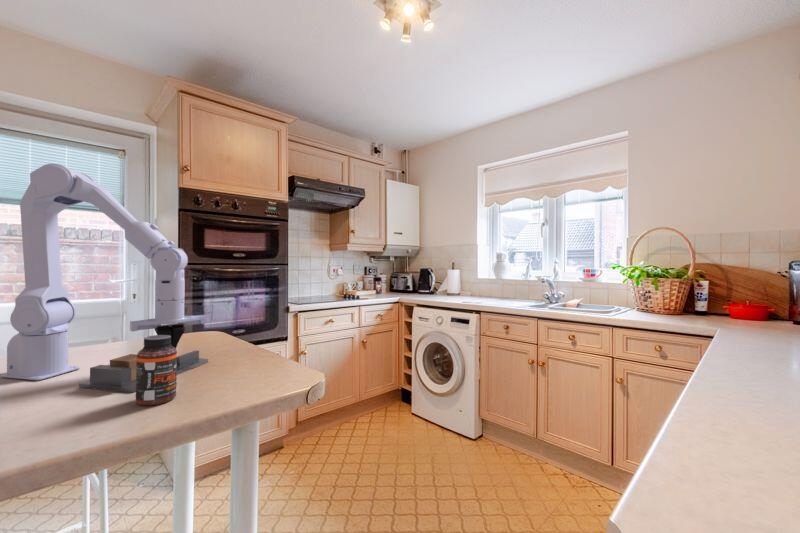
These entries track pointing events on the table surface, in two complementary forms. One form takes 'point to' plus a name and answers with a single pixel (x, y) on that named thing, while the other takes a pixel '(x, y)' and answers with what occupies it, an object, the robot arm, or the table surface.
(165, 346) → the supplement bottle
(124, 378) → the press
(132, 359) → the block
